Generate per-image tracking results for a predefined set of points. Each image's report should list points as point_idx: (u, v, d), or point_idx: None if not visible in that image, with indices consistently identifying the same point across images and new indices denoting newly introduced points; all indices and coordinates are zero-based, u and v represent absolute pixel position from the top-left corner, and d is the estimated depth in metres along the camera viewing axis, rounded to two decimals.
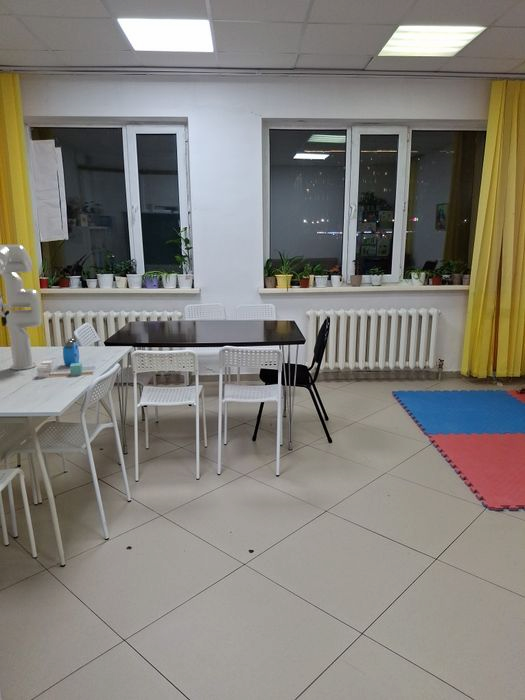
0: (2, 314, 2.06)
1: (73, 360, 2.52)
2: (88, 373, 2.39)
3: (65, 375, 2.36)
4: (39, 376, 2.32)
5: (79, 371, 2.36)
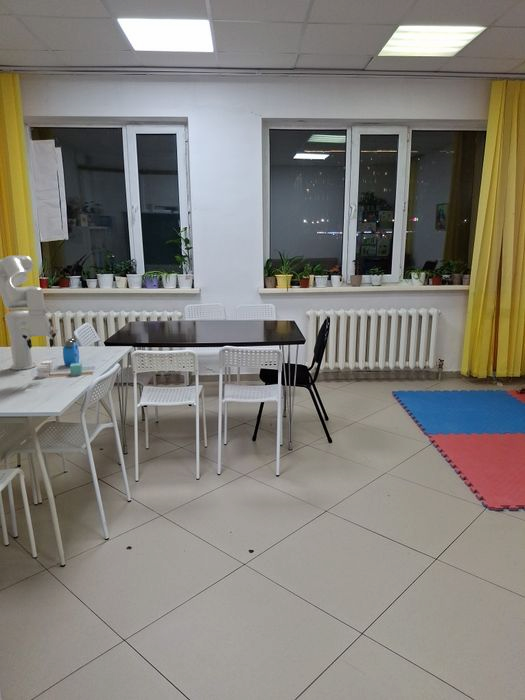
0: (50, 336, 2.30)
1: (73, 360, 2.52)
2: (88, 373, 2.39)
3: (65, 375, 2.36)
4: (39, 376, 2.32)
5: (79, 371, 2.36)
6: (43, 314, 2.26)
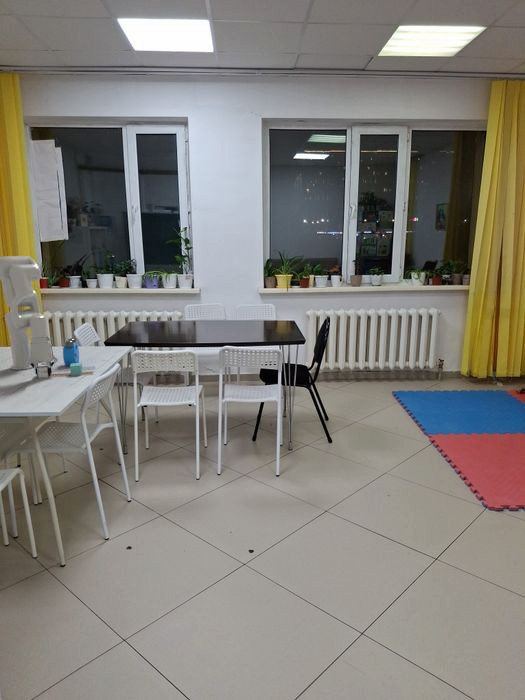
0: (49, 365, 2.33)
1: (73, 360, 2.52)
2: (88, 373, 2.39)
3: (65, 375, 2.36)
4: (39, 376, 2.32)
5: (79, 371, 2.36)
6: (46, 341, 2.30)
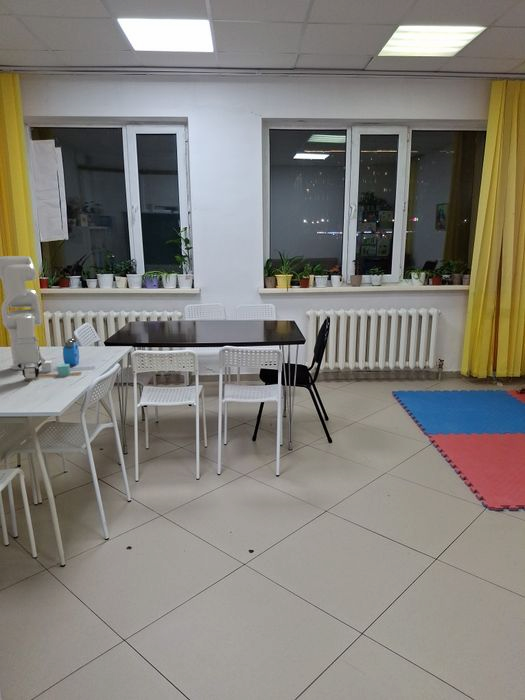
0: (36, 366, 2.31)
1: (73, 360, 2.52)
2: (76, 374, 2.38)
3: (53, 376, 2.34)
4: (26, 377, 2.30)
5: (67, 372, 2.35)
6: (33, 342, 2.28)
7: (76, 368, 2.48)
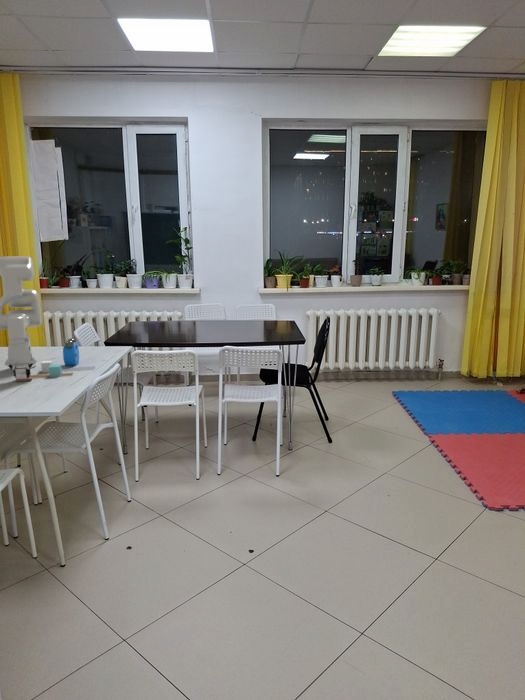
0: (27, 366, 2.30)
1: (73, 360, 2.52)
2: (67, 374, 2.37)
3: (44, 376, 2.33)
4: (17, 377, 2.29)
5: (58, 372, 2.34)
6: (24, 342, 2.27)
7: (76, 368, 2.48)
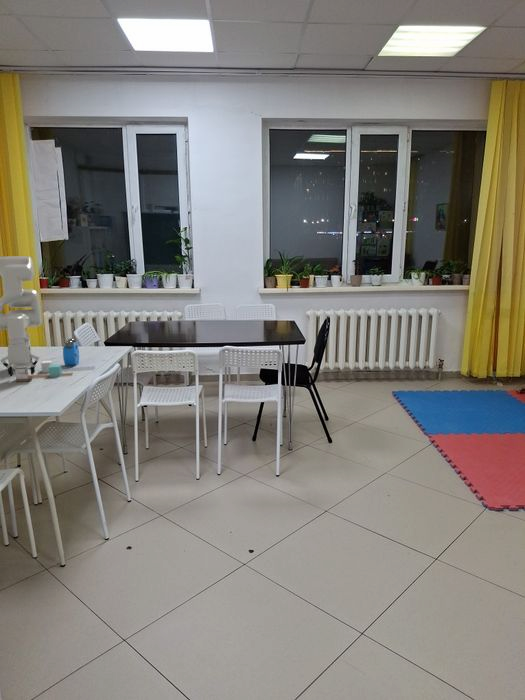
0: (31, 364, 2.31)
1: (73, 360, 2.52)
2: (67, 374, 2.37)
3: (44, 376, 2.33)
4: (17, 377, 2.29)
5: (58, 372, 2.33)
6: (24, 342, 2.27)
7: (76, 368, 2.48)
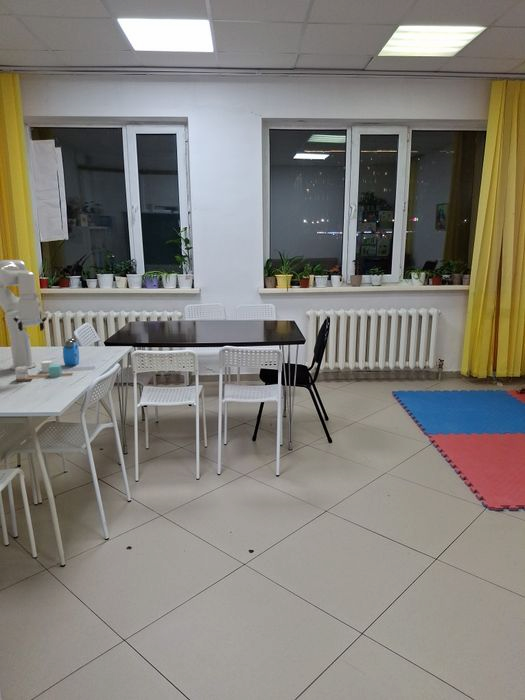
0: (40, 320, 2.35)
1: (73, 360, 2.52)
2: (67, 374, 2.37)
3: (44, 376, 2.33)
4: (17, 377, 2.29)
5: (58, 372, 2.33)
6: (34, 298, 2.31)
7: (76, 368, 2.48)
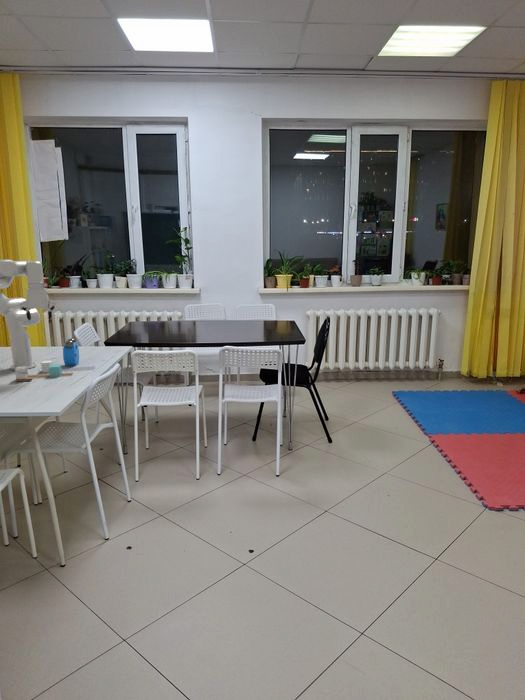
0: (48, 309, 2.39)
1: (73, 360, 2.52)
2: (67, 374, 2.37)
3: (44, 376, 2.33)
4: (17, 377, 2.29)
5: (58, 372, 2.33)
6: (42, 287, 2.35)
7: (76, 368, 2.48)
